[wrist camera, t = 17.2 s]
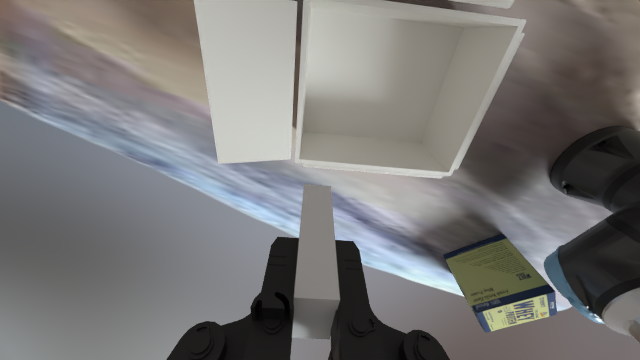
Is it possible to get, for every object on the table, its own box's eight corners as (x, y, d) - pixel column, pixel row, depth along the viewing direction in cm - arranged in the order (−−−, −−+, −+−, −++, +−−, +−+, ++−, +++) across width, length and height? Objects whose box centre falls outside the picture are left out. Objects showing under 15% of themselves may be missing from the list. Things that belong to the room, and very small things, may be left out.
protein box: (441, 255, 62) (475, 314, 49) (503, 232, 58) (557, 291, 45) (452, 274, 67) (484, 333, 54) (509, 255, 63) (560, 314, 50)
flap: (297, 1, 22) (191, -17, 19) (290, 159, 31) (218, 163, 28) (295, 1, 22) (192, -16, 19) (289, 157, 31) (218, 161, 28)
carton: (468, 24, 34) (532, 20, 24) (422, 146, 45) (453, 180, 35) (307, 2, 32) (303, -11, 22) (299, 135, 43) (294, 166, 33)
